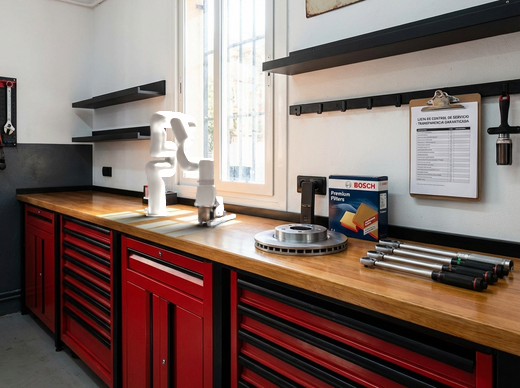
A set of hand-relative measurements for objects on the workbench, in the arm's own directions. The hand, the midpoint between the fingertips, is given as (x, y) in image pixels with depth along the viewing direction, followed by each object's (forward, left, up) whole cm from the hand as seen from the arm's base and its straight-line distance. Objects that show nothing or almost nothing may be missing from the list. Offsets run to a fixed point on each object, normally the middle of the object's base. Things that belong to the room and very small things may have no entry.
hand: (207, 218), depth 207 cm
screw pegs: (0, +6, -2) cm, 7 cm away
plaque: (0, 0, -1) cm, 1 cm away
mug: (-7, +23, -3) cm, 25 cm away
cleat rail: (+5, +6, -2) cm, 9 cm away
